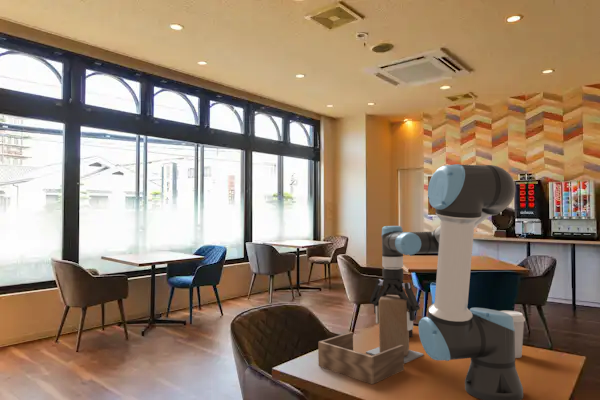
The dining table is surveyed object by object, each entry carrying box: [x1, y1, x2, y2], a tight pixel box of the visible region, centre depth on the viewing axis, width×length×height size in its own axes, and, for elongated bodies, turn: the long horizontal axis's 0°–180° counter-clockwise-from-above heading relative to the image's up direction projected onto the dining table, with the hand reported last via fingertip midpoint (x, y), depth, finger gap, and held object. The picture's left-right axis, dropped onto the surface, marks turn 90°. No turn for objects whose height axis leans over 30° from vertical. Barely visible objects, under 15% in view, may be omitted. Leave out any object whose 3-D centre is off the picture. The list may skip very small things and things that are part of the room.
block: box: [378, 294, 410, 357], centre depth 156 cm, size 10×10×20 cm
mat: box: [365, 346, 424, 365], centre depth 155 cm, size 16×13×1 cm
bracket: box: [317, 331, 405, 385], centre depth 142 cm, size 23×17×8 cm
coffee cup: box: [500, 310, 526, 359], centre depth 153 cm, size 10×10×15 cm
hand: (394, 326), depth 156 cm, fingers closed on block, 13 cm apart
